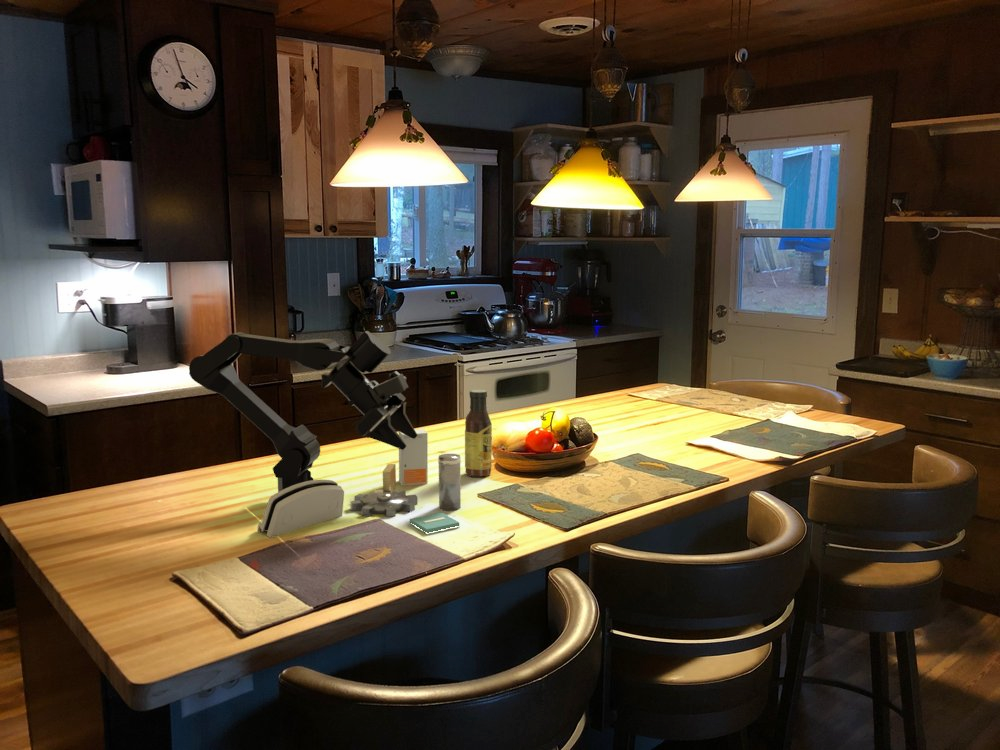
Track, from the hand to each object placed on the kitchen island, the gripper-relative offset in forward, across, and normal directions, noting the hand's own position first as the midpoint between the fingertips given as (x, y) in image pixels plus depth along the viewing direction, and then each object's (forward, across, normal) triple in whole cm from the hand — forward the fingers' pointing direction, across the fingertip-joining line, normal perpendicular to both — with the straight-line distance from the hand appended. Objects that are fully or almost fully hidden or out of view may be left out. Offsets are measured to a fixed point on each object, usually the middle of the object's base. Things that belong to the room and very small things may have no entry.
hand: (410, 442), depth 172 cm
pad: (+15, -11, +4) cm, 19 cm away
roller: (+15, 0, +4) cm, 16 cm away
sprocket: (+6, 0, +13) cm, 14 cm away
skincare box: (+7, +16, +12) cm, 22 cm away
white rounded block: (-3, -14, +22) cm, 27 cm away
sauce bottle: (+17, +25, +3) cm, 30 cm away
